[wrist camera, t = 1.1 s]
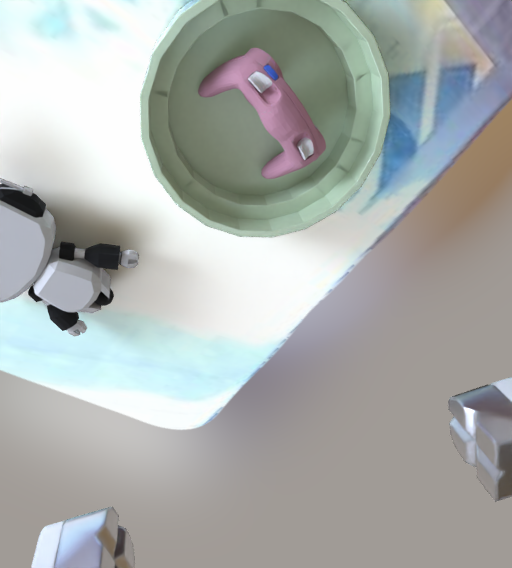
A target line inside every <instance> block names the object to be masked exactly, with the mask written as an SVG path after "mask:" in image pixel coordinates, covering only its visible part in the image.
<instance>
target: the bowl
mask: <svg viewBox="0 0 512 568" xmlns="http://www.w3.org/2000/svg"><path fill="white" fill-rule="evenodd" d="M251 48H259V49H261V50H263V51H265V52H266V53H268V54H269V55H270V56H271V57H272V58H273V59H274V60H275V62H276V63H277V64H278V66H279V68H280V69H281V72H282V75H283V78H284V80H285V82H286V83H287V84H288V85H289V86H290V88H291V89H292V90H293V92H294V93H295V94H296V96H297V97H298V99H299V100H300V102H301V103H302V104H303V106H304V108H305V109H306V111H307V113H308V114H309V116H310V118H311V120H312V122H313V124H314V125H316V126H317V127H318V128H319V130H320V133H321V134H322V135H323V137H324V139H325V142H326V149H325V151H324V152H323V153H322V154H321V155H320V156H319V157H318V159H317V160H315V161H313V162H312V163H311V164H309V165H307V166H306V167H304V168H302V169H299V170H297V171H294V172H291V173H289V174H286V175H284V176H281V177H278V178H275V179H266V178H264V177H263V176H262V175H261V171H262V168H263V167H264V166H265V165H266V164H267V162H268V161H270V160H271V159H272V158H274V157H275V156H277V155H278V154H280V153H281V152H283V151H284V149H283V147H282V145H281V144H280V143H279V141H278V140H276V139H275V138H274V137H273V136H272V135H271V134H269V133H268V131H267V130H266V128H265V127H264V125H263V123H262V121H261V119H260V117H259V114H258V112H257V110H256V109H255V108H254V107H253V106H252V105H251V104H250V103H249V102H248V101H247V99H246V98H245V97H244V95H243V93H242V91H240V90H239V89H231V90H228V91H225V92H222V93H220V94H217V95H215V96H213V97H201V96H200V95H199V94H198V89H199V86H200V84H201V82H202V80H203V79H204V78H205V77H206V76H207V75H208V74H209V73H211V72H212V71H213V70H214V69H216V68H217V67H219V66H220V65H222V64H223V63H225V62H227V61H228V60H231V59H233V58H235V57H237V56H240V55H245V54H246V53H247V52H248V51H249V50H250V49H251ZM140 115H141V138H142V142H143V145H144V148H145V151H146V153H147V156H148V159H149V162H150V165H151V167H152V170H153V173H154V175H155V177H156V178H157V180H158V181H159V182H160V184H161V185H162V186H163V188H164V189H165V190H166V192H167V193H168V194H169V195H170V197H171V198H172V199H173V201H174V202H175V203H176V205H178V206H179V207H180V208H182V209H183V210H184V211H186V212H187V213H189V214H190V215H192V216H193V217H194V218H196V219H197V220H199V221H200V222H201V223H203V224H204V225H206V226H208V227H211V228H215V229H218V230H221V231H224V232H227V233H230V234H233V235H236V236H240V237H276V236H280V235H284V234H288V233H292V232H296V231H299V230H303V229H306V228H308V227H310V226H312V225H313V224H315V223H317V222H319V221H320V220H322V219H324V218H326V217H327V216H329V215H331V214H333V213H334V212H336V211H337V210H338V209H339V208H340V207H341V206H342V205H343V204H344V203H345V202H346V201H347V200H348V199H349V198H350V197H351V196H352V195H353V194H354V193H355V192H356V191H357V190H358V189H359V188H360V187H361V186H362V185H363V183H364V181H365V180H366V178H367V176H368V174H369V173H370V171H371V169H372V167H373V166H374V164H375V162H376V160H377V159H378V157H379V155H380V153H381V150H382V146H383V142H384V139H385V135H386V131H387V127H388V123H389V119H390V94H389V75H388V71H387V69H386V66H385V63H384V61H383V58H382V55H381V53H380V50H379V47H378V44H377V42H376V39H375V36H374V35H373V34H372V32H371V31H370V30H369V29H368V28H367V26H366V25H365V24H364V23H363V22H362V20H361V19H360V18H359V17H358V16H357V14H356V13H355V12H354V11H353V10H352V8H351V7H350V6H349V5H348V4H347V3H346V2H344V1H343V0H191V1H190V2H189V3H187V4H186V5H184V6H183V7H182V8H180V10H178V12H177V13H176V14H175V16H174V17H173V19H172V20H171V21H170V23H169V24H168V26H167V27H166V29H165V30H164V31H163V33H162V34H161V36H160V37H159V39H158V40H157V41H156V43H155V45H154V49H153V52H152V55H151V59H150V62H149V66H148V69H147V72H146V76H145V79H144V83H143V86H142V90H141V94H140Z"/></svg>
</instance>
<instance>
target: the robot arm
mask: <svg viewBox="0 0 512 568" xmlns="http://www.w3.org/2000/svg"><path fill="white" fill-rule="evenodd" d="M448 403H449V411H450V412H451V413H452V414H453V415H454V417H453V418H452V420H451V422H450V424H449V425H450V434H451V437H452V440H453V443H454V445H455V447H456V449H457V451H458V453H459V454H460V456H461V457H462V458H463V460H464V461H465V462H466V463H468V464H470V465H472V466H475V467H477V478H478V480H479V481H480V482H481V484H482V485H483V486H484V487H485V489H486V490H487V492H488V493H489V494H490V495H491V497H492V498H493V499H494V500H495V502H496V501H499V500H502V499H506V498H509V497H512V378H507V379H504V380H501V381H498V382H495V383H492V384H490V385H485V386H482V387H479V388H476V389H473V390H470V391H467V392H464V393H461V394H458V395H455V396H452V397H450V399H449V402H448ZM118 520H119V516H118V514H117V513H116V511H115V509H114V508H113V507H108V508H105V509H101V510H98V511H94V512H91V513H88V514H84V515H81V516H77V517H74V518H71V519H67V520H65V521H62V522H58V523H55V524H51V525H49V526H45V527H44V528H43V530H42V531H41V533H40V536H39V539H38V543H37V547H36V551H35V555H34V559H33V563H32V567H31V568H135V567H134V566H135V557H134V549H133V543H132V541H131V537H130V535H129V533H128V531H127V529H126V528H124V527H121V526H119V525H118Z"/></svg>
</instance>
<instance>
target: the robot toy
mask: <svg viewBox="0 0 512 568" xmlns="http://www.w3.org/2000/svg"><path fill="white" fill-rule="evenodd" d="M0 183H2V184H0V302H5V301H8V300H11V299H14V298H16V297H17V296H19V295H20V294H22V293H23V292H24V291H26V290H27V289H28V288H29V287H30V286H31V285H32V284H33V283H34V285H32V286H31V287H30V289H29V291H28V295H29V296H30V297H32V298H33V299H34V300H35V301H36V302H38V301H42V302H43V303H45V304H46V305H47V308H48V313H49V316H50V319H51V320H52V321H53V322H54V323H55V324H56V325H57V326H58V327H59V328H60V329H61V330H62V331H63V330H67V331H68V333H69V334H71V335H73V336H78V335H80V332H82V333H84V332H85V331H86V329H87V327H86V325H85V323H84V322H83V321H81V320H78V319H79V316H78V313H77V312H79V311H81V312H89V313H94V312H96V311H98V310H100V309H101V305H102V306H103V305H108V304H109V303H111V302H112V300H113V297H114V294H113V291H112V290H111V289H110V281H111V276H110V275H109V274H108V273H107V272H106V271H105V270H104V269H103V268H106V269H116V270H118V264H121V265H122V266H124V267H126V268H134V267H136V266H137V265H138V258H139V255H138V253H137V252H136V251H133V250H130V249H129V250H125V251H122V252H120V246H117V245H108V244H97V245H95V246H92V247H89V248H87V249H79V248H75V245H74V243H66V242H61V244H60V247H59V248H56V249H52V247H53V243H54V239H55V235H56V225H55V220H54V217H53V216H52V215H51V214H50V213H49V211H48V210H47V209H46V204H45V203H44V202H43V201H42V200H41V199H40V198H39V197H38V196H37V195H35V194H34V193H33V190H32V189H31V188H29V187H26V186H24V187H21V186H19V185H16V184H14V183H11V182H9V181H6V180H4V179H1V178H0Z"/></svg>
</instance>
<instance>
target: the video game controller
mask: <svg viewBox="0 0 512 568" xmlns="http://www.w3.org/2000/svg"><path fill="white" fill-rule="evenodd" d="M231 89H239V90H240V91H242V93H243V95H244V97H245V98H246V99H247V101H248V102H249V103H250V104H251V105H252V106H253V107H254V108H255V109H256V110H257V112H258V114H259V117H260V119H261V121H262V123H263V125H264V127H265V128H266V130H267V131H268V133H269V134H271V135H272V136H273V137H274V138H275V139H276V140H278V141H279V143H280V144H281V145H282V147H283V149H284V151H283V152H281V153H280V154H278V155H277V156H275V157H274V158H272V159H271V160H270V161H268V162H267V164H266V165H265V166H264V167H263V168H262V171H261V175H262V176H263V177H264V178H266V179H275V178H278V177H281V176H284V175H286V174H289V173H291V172H294V171H297V170H299V169H302V168H304V167H306V166H307V165H309V164H311V163H312V162H313V161H315V160H317V159H318V157H319V156H320V155H321V154H322V153H323V152H324V151H325V149H326V142H325V139H324V137H323V135H322V134H321V133H320V130H319V128H318V127H317V126H316V125H314V124H313V122H312V120H311V118H310V116H309V114H308V113H307V111H306V109H305V108H304V106H303V104H302V103H301V102H300V100H299V99H298V97H297V96H296V94H295V93H294V92H293V90H292V89H291V88H290V86H289V85H288V84H287V83H286V82H285V80H284V78H283V75H282V72H281V69H280V68H279V66H278V64H277V63H276V62H275V60H274V59H273V58H272V57H271V56H270V55H269V54H268V53H266V52H265V51H263V50H261V49H259V48H251V49H250V50H249V51H248V52H247V53H246V54H245V55H240V56H237V57H235V58H233V59H231V60H228V61H227V62H225V63H223V64H222V65H220V66H219V67H217V68H216V69H214V70H213V71H212V72H211V73H209V74H208V75H207V76H206V77H205V78H204V79H203V80H202V82H201V84H200V86H199V89H198V94H199V95H200V96H201V97H213V96H215V95H217V94H220V93H222V92H225V91H228V90H231Z"/></svg>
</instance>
